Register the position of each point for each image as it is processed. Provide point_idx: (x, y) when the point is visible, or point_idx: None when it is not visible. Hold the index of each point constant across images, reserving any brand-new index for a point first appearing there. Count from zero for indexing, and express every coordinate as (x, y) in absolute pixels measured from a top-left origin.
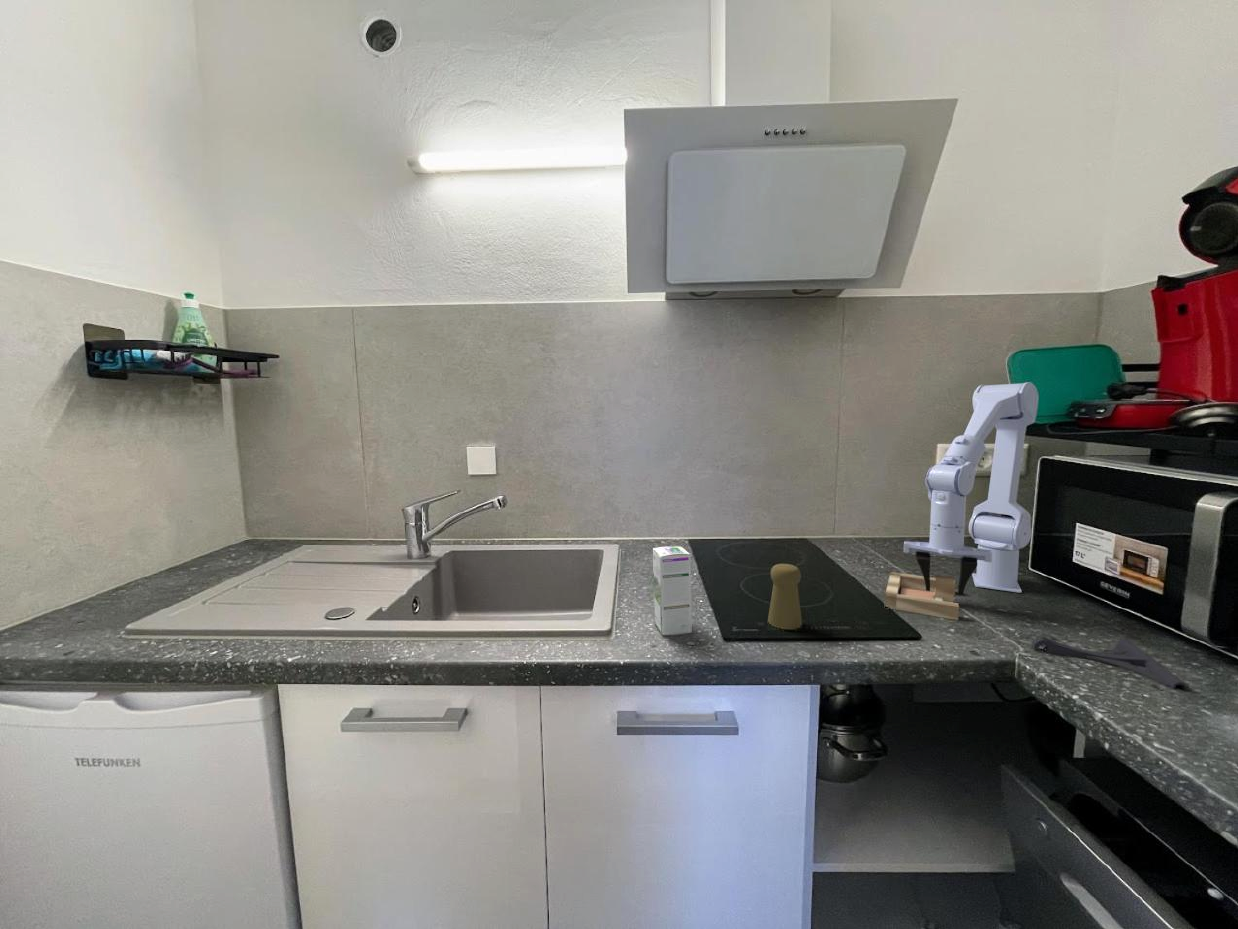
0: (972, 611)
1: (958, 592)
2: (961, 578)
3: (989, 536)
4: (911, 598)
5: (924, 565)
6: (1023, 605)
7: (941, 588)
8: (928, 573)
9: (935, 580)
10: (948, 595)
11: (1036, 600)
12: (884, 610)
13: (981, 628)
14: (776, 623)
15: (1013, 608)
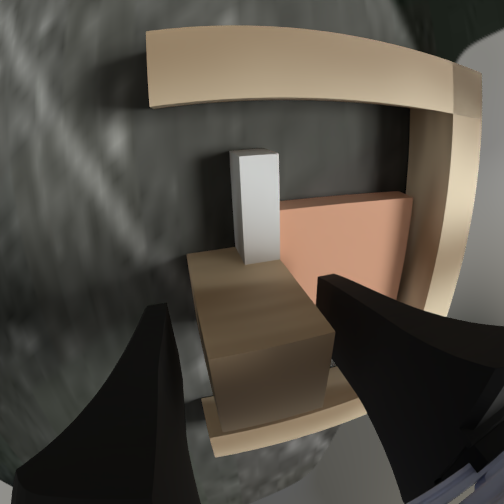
0: (99, 246)
1: (172, 332)
2: (154, 376)
3: None
4: (404, 66)
5: (473, 335)
6: (11, 409)
7: (269, 294)
8: (400, 321)
9: (284, 423)
10: (219, 278)
11: (17, 450)
12: (436, 43)
13: (53, 16)
14: None
15: (11, 373)
